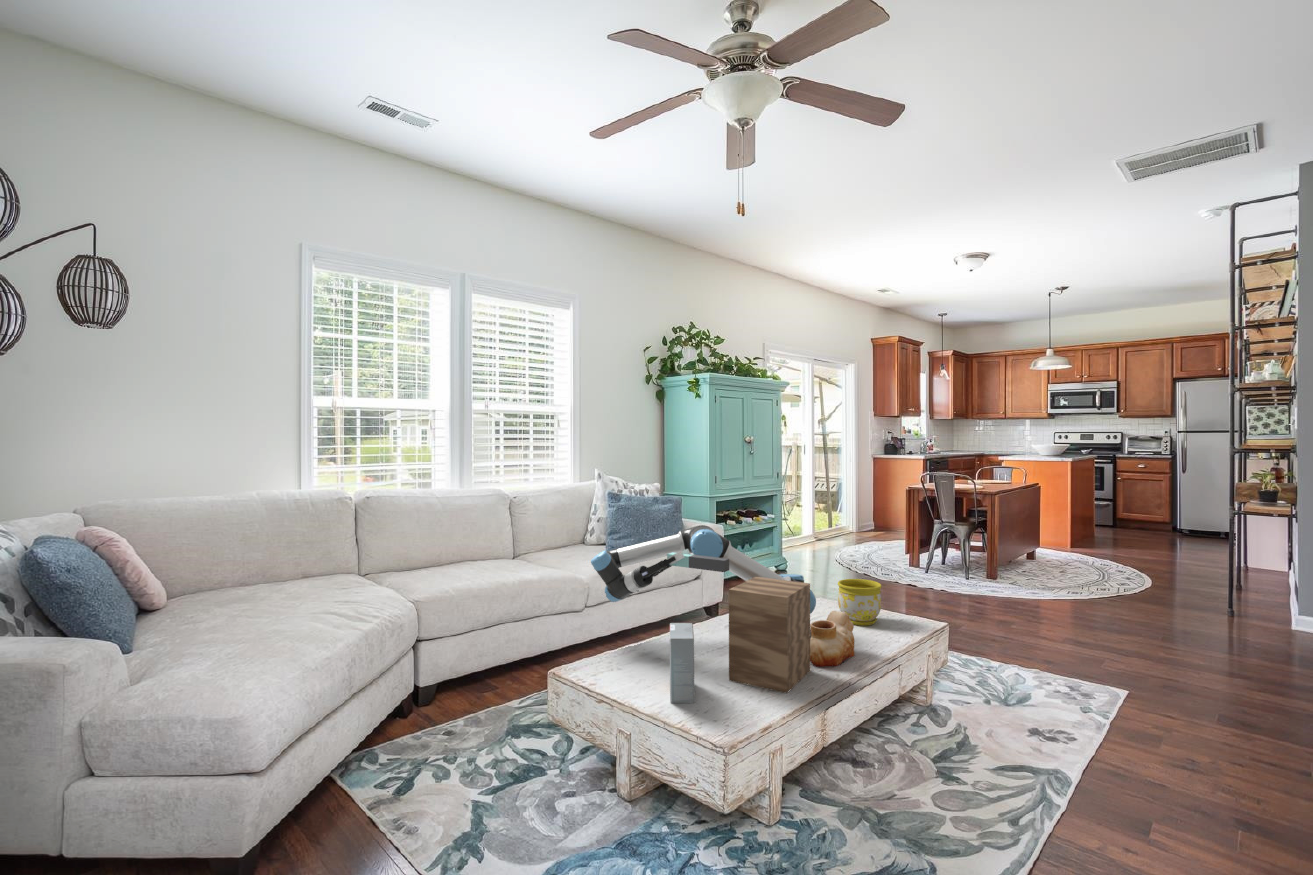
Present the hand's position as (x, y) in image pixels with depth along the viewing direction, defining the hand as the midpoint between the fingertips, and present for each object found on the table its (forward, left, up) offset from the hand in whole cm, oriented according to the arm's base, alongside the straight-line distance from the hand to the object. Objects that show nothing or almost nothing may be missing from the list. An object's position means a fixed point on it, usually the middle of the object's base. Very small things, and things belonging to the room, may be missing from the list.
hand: (685, 553), depth 235 cm
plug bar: (0, +5, -5) cm, 7 cm away
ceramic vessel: (-28, +44, -38) cm, 65 cm away
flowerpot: (-78, +41, -38) cm, 96 cm away
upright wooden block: (0, +32, -38) cm, 50 cm away
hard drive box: (+28, +14, -38) cm, 50 cm away
